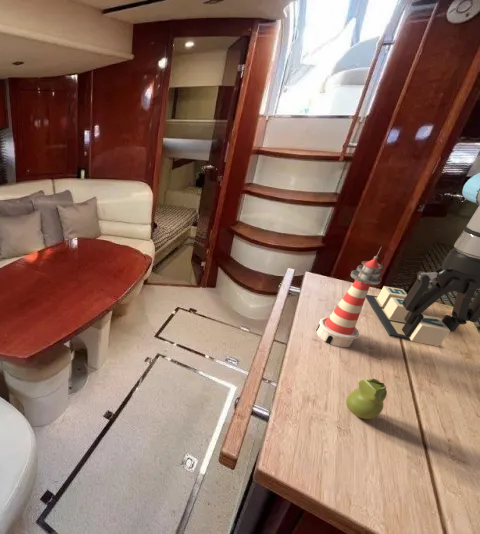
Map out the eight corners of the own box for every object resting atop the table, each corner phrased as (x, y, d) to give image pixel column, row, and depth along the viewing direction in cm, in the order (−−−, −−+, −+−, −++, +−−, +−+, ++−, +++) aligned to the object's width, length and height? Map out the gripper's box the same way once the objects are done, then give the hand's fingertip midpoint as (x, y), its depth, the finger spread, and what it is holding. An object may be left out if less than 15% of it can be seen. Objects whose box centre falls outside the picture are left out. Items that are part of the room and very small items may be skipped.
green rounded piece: (379, 423, 67) (402, 394, 62) (355, 424, 67) (376, 394, 62) (358, 401, 71) (378, 372, 66) (336, 402, 71) (354, 372, 66)
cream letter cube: (428, 333, 77) (439, 317, 74) (438, 346, 73) (451, 329, 70) (402, 328, 79) (412, 312, 76) (411, 340, 75) (422, 324, 72)
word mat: (401, 302, 103) (403, 300, 103) (434, 345, 86) (436, 343, 86) (365, 296, 107) (366, 294, 107) (389, 336, 90) (390, 333, 89)
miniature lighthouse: (348, 353, 84) (403, 259, 69) (310, 336, 90) (353, 245, 75) (357, 338, 89) (410, 247, 74) (320, 323, 95) (362, 235, 80)
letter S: (395, 301, 103) (403, 288, 100) (401, 309, 99) (410, 296, 96) (376, 298, 105) (384, 285, 102) (382, 306, 101) (389, 293, 98)
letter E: (403, 313, 97) (411, 300, 95) (410, 322, 93) (419, 309, 91) (383, 309, 99) (391, 296, 97) (389, 318, 95) (397, 305, 93)
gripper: (430, 254, 64) (380, 336, 76) (556, 269, 58) (480, 357, 69) (414, 240, 70) (369, 318, 82) (527, 252, 64) (461, 335, 75)
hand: (420, 336), depth 76 cm, fingers closed on cream letter cube, 5 cm apart
